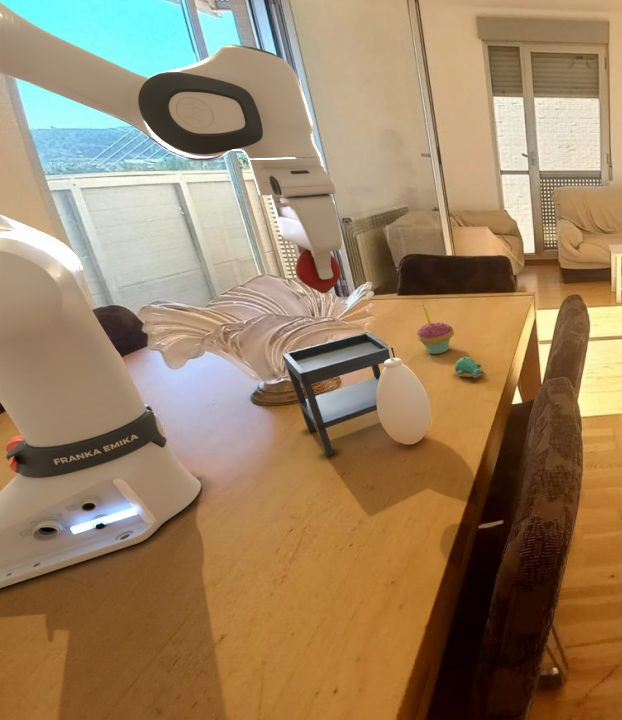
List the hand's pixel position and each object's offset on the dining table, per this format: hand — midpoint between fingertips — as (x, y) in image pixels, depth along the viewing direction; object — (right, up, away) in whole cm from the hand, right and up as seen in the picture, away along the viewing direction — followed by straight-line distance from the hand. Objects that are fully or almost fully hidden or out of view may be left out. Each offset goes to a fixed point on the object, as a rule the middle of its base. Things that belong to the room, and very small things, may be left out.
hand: (319, 274), depth 74 cm
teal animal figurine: (+14, -17, +32) cm, 39 cm away
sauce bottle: (+11, -28, +8) cm, 31 cm away
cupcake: (+1, -11, +46) cm, 48 cm away
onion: (0, -3, +1) cm, 3 cm away
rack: (-1, -26, +13) cm, 29 cm away
